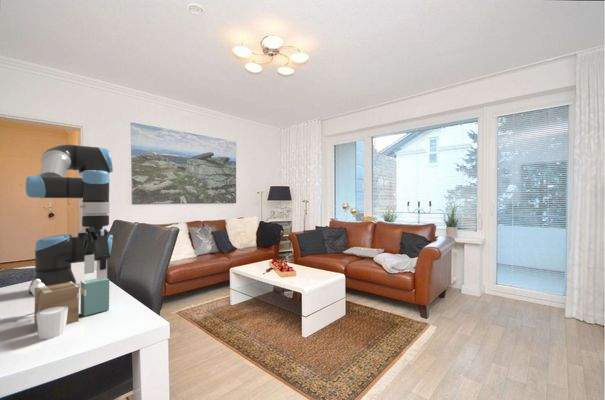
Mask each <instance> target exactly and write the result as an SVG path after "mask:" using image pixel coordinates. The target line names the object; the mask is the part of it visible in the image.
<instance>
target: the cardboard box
mask: <svg viewBox="0 0 605 400" xmlns="http://www.w3.org/2000/svg"><path fill="white" fill-rule="evenodd" d="M79 301H80V286H79V285H77V283H76V284H74V283H73V282H72V281H70V282H66V283H61V284H55V285H49V286H42V287H38V288H35V297H34V312H35V313H34V315H35V316H34V325H35V326H36V328H37V329H38V325H37V317H36V314H37V312H39V311H41V310H44V309H47V308H51V307H57V306H67V307H68V313H67V321H66V325H69V324H72V323H73V324H74V323H76V322H79V318H80V317H79V315H80V314H79V313H80V311H79V310H80V308H79V307H80V304H79V303H80V302H79Z"/></svg>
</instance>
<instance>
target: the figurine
mask: <svg viewBox="0 0 605 400" xmlns="http://www.w3.org/2000/svg"><path fill="white" fill-rule="evenodd" d="M42 286H45V284H44V283H42V282H41V280H40V279H35V280H34V281H33V283H32V285H31V286H30V285H29V287H30V291H31V292H32V293H33V295H32V296H33V297H34V298H35V288H38V287H42ZM33 312H34V313H33V314H34V315H33V316H34V317H35V311H33Z"/></svg>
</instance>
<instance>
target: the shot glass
mask: <svg viewBox="0 0 605 400" xmlns="http://www.w3.org/2000/svg"><path fill="white" fill-rule="evenodd" d="M67 313H68V307H67V306H57V307H51V308H47V309H44V310H41V311H39V312H37V314H36V317H37V325H38V328H37V333H38V339H40V340H50V339H54V338H56V337H60V336H62V335H64V334H65V333H66V328H67V324H66V321H67Z"/></svg>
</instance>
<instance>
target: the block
mask: <svg viewBox="0 0 605 400" xmlns="http://www.w3.org/2000/svg"><path fill="white" fill-rule="evenodd" d="M79 294H80V304H79V307H80V308H79V310H80V311H79V313H81V315H82V316H84V317H86V316H89V315H90V316H91V315H94V314H98V313H101V312H105V311H109V310H110V279H109V278H108V277H107V279H102V280H97V278H92V279H87V280H86V279H85V280H80V286H79Z"/></svg>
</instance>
